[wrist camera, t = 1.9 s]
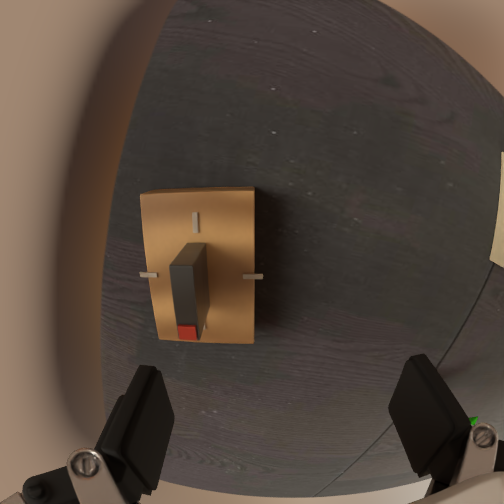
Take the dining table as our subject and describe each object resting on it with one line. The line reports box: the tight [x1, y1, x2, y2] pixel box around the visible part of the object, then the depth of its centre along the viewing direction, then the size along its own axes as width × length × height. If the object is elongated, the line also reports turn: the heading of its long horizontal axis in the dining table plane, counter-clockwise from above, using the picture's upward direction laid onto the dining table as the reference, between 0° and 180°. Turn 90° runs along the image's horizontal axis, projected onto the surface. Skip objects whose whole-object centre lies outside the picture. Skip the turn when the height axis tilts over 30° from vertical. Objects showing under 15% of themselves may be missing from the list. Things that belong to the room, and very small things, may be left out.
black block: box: [169, 243, 210, 341], centre depth 18 cm, size 5×1×5 cm, turn 0°
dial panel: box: [140, 187, 263, 344], centre depth 22 cm, size 12×9×3 cm
